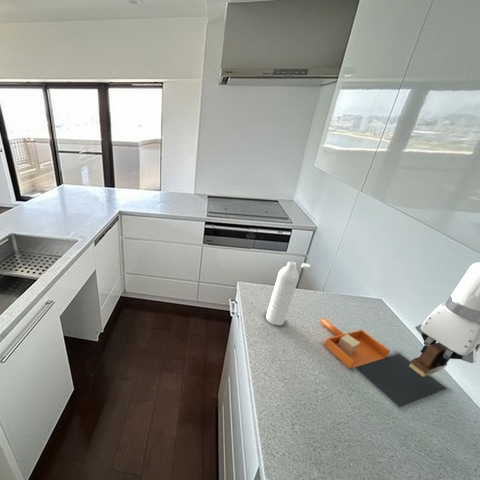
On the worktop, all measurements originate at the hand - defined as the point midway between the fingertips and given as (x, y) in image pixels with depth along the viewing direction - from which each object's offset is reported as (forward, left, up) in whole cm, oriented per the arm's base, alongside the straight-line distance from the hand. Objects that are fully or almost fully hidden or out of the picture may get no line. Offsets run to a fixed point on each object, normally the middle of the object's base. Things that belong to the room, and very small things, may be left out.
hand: (430, 360), depth 72 cm
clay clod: (+10, -14, -8) cm, 20 cm away
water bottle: (+23, -32, -9) cm, 40 cm away
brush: (0, 0, -3) cm, 3 cm away
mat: (+4, -2, -9) cm, 10 cm away
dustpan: (+8, -18, -9) cm, 21 cm away
